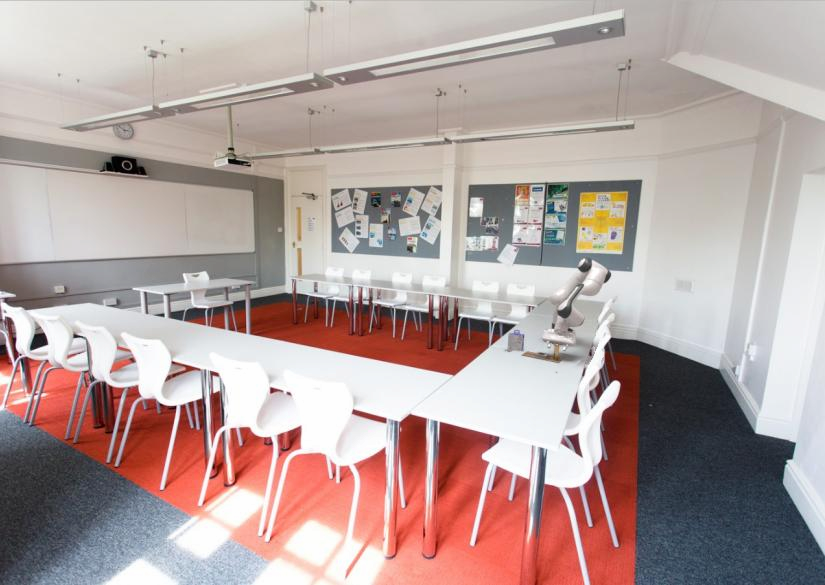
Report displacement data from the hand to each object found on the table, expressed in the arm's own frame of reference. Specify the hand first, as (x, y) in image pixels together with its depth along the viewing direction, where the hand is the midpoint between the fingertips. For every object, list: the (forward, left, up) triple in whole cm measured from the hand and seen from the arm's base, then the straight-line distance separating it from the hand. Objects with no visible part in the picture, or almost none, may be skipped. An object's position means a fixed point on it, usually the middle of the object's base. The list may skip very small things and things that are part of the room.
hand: (556, 349), depth 250 cm
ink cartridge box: (-5, -28, -9) cm, 30 cm away
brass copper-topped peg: (0, 0, -7) cm, 7 cm away
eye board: (0, -8, -8) cm, 12 cm away
